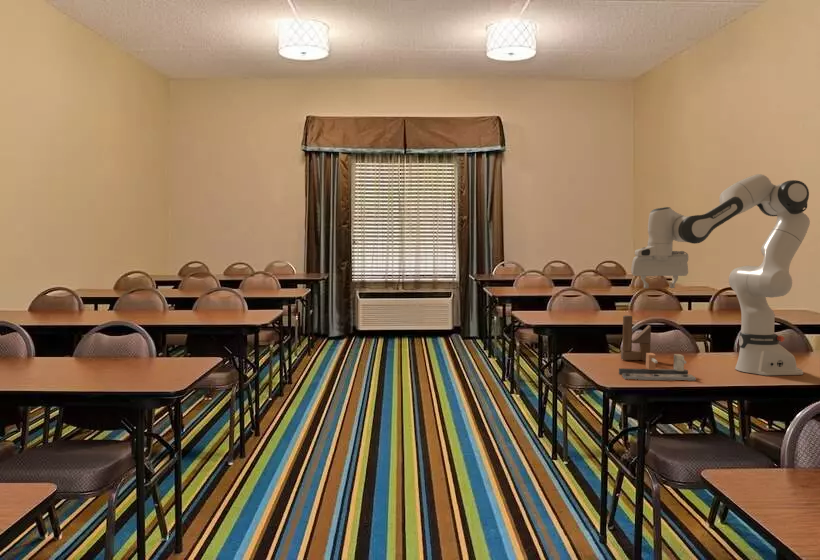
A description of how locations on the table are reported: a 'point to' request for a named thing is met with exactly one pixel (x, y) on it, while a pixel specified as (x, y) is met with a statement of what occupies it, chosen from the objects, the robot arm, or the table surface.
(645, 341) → the brown angular bracket
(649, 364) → the block
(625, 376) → the hole strip
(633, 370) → the rail
